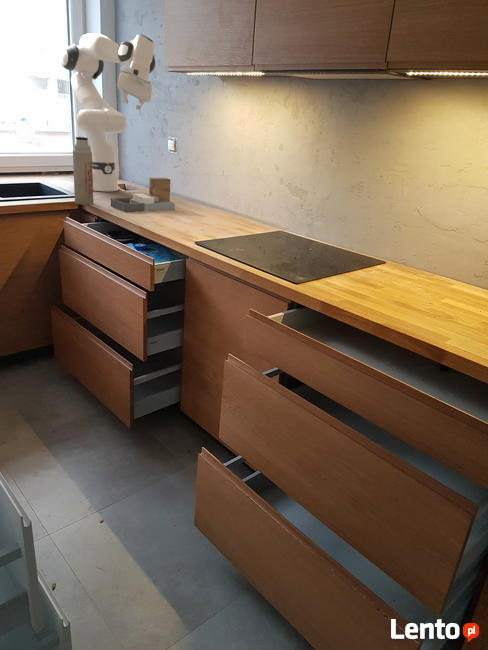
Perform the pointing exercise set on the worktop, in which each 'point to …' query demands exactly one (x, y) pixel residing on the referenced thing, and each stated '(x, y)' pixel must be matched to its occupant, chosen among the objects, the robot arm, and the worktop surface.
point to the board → (157, 205)
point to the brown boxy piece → (159, 189)
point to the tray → (126, 205)
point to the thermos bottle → (83, 172)
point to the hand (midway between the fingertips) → (131, 106)
